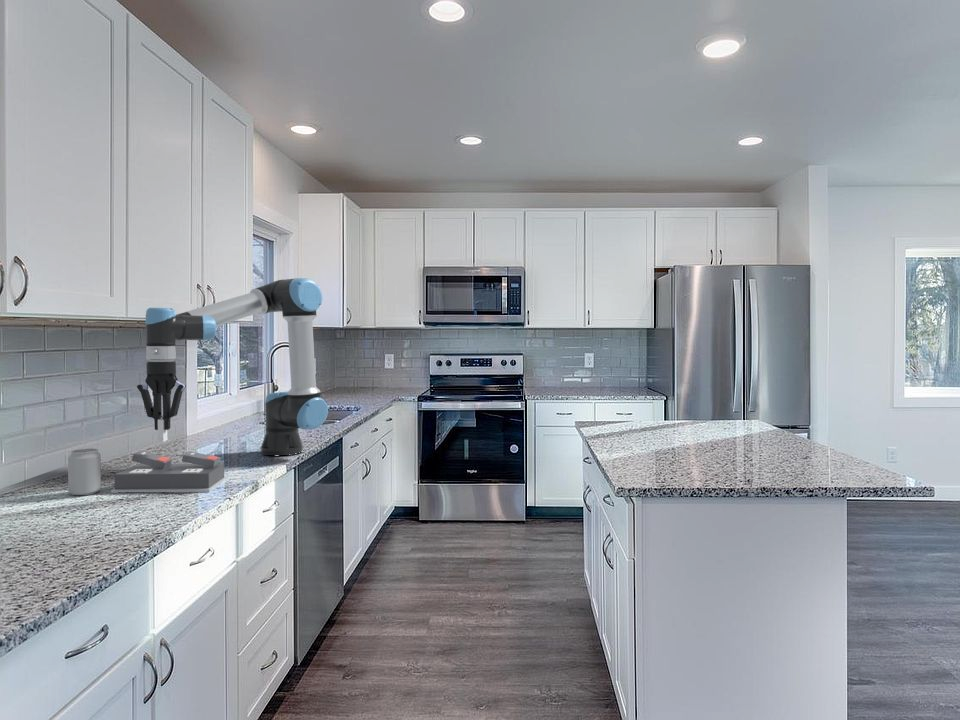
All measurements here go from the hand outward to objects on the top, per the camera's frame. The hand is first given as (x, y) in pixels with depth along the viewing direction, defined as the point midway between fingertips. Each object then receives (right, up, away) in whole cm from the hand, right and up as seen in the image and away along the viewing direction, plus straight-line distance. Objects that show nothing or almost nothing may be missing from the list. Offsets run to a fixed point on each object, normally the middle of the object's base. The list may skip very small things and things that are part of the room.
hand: (162, 440), depth 168 cm
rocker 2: (+11, -7, +1) cm, 13 cm away
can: (-16, -13, -10) cm, 23 cm away
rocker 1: (-3, -6, 0) cm, 7 cm away
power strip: (+3, -13, -1) cm, 13 cm away
